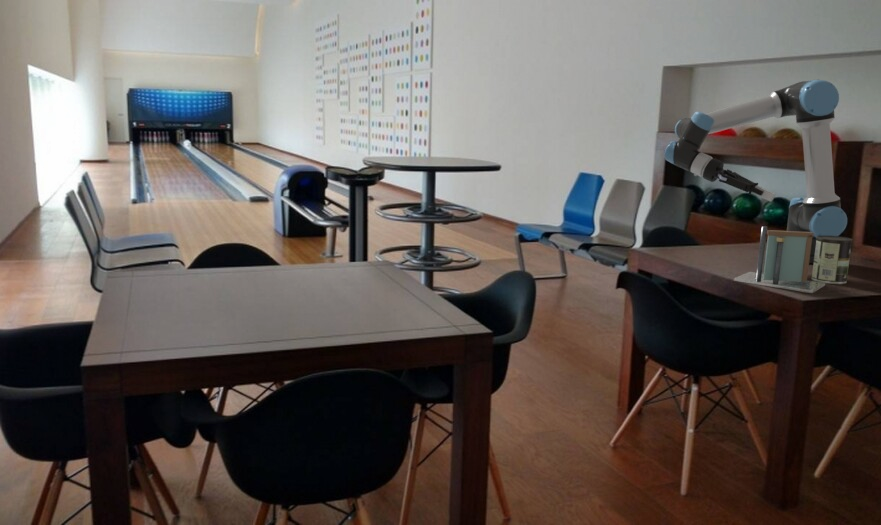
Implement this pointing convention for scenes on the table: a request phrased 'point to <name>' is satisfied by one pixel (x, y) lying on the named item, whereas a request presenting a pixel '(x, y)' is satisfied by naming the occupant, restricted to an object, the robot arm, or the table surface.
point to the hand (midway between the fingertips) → (773, 197)
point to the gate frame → (776, 271)
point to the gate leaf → (788, 255)
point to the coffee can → (831, 259)
